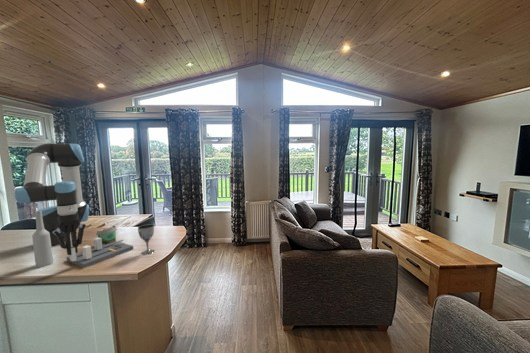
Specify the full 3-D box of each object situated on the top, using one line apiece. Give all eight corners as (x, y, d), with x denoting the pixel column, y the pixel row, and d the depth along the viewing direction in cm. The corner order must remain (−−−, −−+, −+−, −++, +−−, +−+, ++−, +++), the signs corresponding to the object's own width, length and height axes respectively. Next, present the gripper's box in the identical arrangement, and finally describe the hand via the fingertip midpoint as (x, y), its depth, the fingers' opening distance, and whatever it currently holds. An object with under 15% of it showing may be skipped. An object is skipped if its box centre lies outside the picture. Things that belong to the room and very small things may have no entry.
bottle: (43, 267, 116) (36, 212, 113) (32, 267, 117) (25, 212, 114) (56, 261, 122) (50, 209, 119) (46, 261, 123) (40, 209, 120)
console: (66, 260, 123) (65, 253, 122) (115, 244, 144) (115, 237, 144) (84, 268, 114) (83, 259, 114) (133, 249, 136) (132, 242, 135)
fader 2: (94, 249, 131) (93, 238, 131) (99, 247, 133) (98, 237, 133) (97, 250, 129) (96, 239, 129) (102, 248, 132) (101, 238, 131)
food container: (106, 248, 139) (104, 231, 138) (97, 247, 140) (96, 231, 139) (122, 240, 151) (121, 225, 150) (114, 240, 152) (113, 225, 151)
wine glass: (143, 249, 135) (141, 224, 133) (157, 248, 135) (156, 223, 134) (137, 255, 127) (135, 229, 125) (152, 254, 127) (150, 228, 126)
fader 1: (83, 258, 119) (81, 246, 119) (88, 256, 122) (87, 245, 121) (86, 259, 118) (85, 248, 117) (92, 257, 120) (90, 246, 119)
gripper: (54, 217, 105) (60, 267, 107) (87, 211, 116) (92, 256, 118) (47, 215, 108) (53, 264, 110) (80, 209, 120) (84, 253, 122)
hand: (73, 260), depth 114 cm, fingers closed
